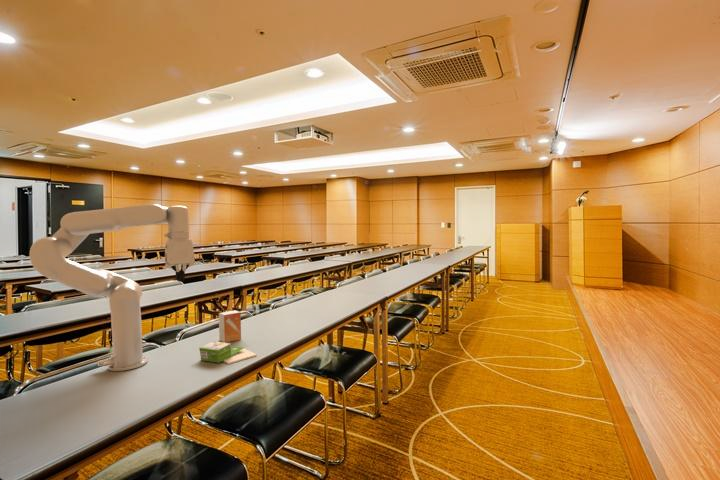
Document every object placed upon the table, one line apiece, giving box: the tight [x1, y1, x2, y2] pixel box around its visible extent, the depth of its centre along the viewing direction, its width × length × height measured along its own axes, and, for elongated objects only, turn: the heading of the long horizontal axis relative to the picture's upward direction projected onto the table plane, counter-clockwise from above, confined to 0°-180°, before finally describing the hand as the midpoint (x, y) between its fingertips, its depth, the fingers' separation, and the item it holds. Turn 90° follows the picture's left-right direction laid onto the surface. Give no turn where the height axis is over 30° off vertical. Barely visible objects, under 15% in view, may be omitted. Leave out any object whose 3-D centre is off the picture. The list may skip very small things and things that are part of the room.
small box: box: [218, 309, 242, 343], centre depth 165 cm, size 8×6×13 cm
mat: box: [222, 347, 258, 365], centre depth 143 cm, size 12×14×1 cm
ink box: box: [198, 340, 245, 364], centre depth 143 cm, size 10×5×14 cm
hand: (180, 281), depth 143 cm, fingers closed
